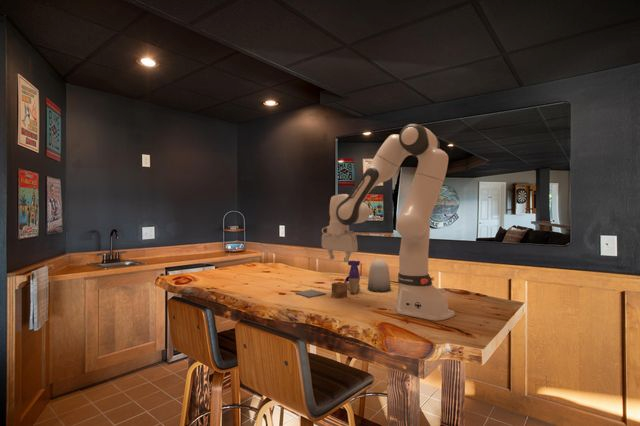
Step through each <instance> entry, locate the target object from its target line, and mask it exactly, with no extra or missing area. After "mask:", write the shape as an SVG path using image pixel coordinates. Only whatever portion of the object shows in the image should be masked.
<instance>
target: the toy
mask: <svg viewBox="0 0 640 426" xmlns="http://www.w3.org/2000/svg"><path fill="white" fill-rule="evenodd" d="M391 286H392V285H391V277H390V268H389V264H388V262H387V261H386V260H384V259H381V258H377V259H374V260H373V261H371V264H370V265H369V271H368V280H367V290H368V291H370V292H374V291H375V292H376V293H383V292H385V293H388V292H390V291H392V289H391V288H392V287H391Z"/></svg>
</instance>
